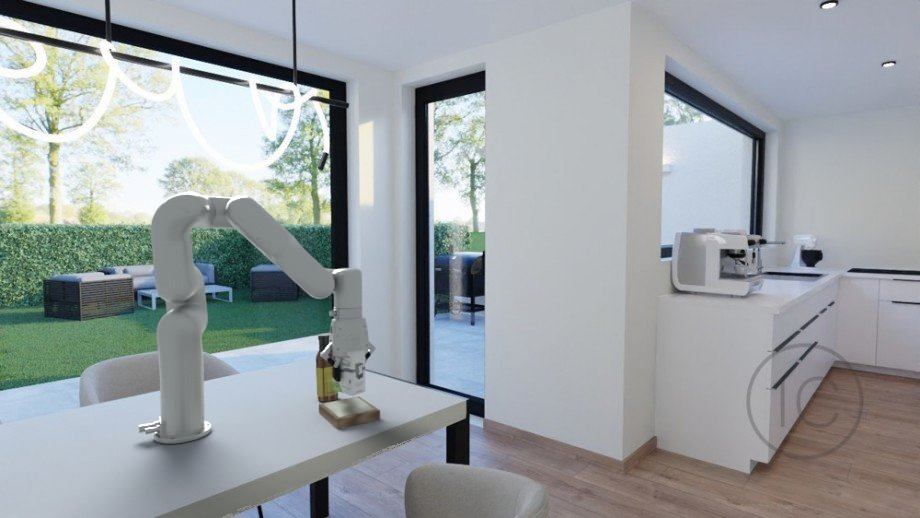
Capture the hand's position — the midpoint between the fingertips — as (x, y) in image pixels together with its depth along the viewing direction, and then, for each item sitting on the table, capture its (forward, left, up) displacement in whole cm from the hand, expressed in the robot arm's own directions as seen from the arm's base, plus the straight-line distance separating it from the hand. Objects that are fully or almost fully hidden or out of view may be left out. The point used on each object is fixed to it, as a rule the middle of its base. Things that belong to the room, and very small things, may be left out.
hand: (348, 378), depth 138 cm
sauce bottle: (0, +17, -11) cm, 20 cm away
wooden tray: (0, 0, -11) cm, 11 cm away
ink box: (0, 0, -4) cm, 4 cm away
